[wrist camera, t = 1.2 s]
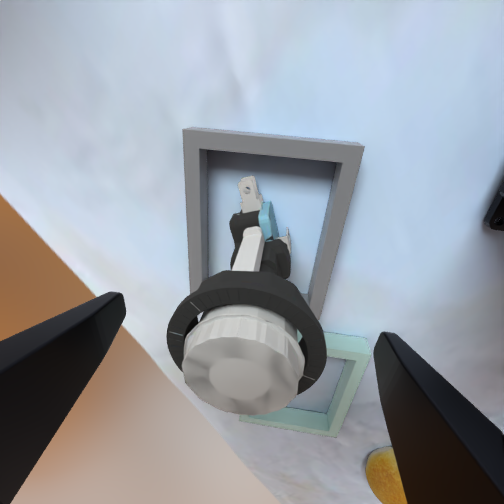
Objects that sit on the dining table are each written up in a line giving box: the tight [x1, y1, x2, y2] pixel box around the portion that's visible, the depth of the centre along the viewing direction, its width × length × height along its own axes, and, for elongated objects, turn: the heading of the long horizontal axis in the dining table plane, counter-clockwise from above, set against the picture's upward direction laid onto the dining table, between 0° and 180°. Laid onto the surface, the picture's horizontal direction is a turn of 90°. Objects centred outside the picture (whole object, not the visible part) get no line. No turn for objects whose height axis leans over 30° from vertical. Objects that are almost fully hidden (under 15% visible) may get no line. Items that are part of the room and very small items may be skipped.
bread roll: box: [366, 446, 407, 504], centre depth 25 cm, size 8×9×4 cm
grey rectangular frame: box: [182, 127, 365, 320], centre depth 16 cm, size 9×11×2 cm
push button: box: [167, 176, 327, 416], centre depth 12 cm, size 7×5×10 cm
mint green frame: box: [239, 329, 371, 438], centre depth 22 cm, size 9×11×2 cm
